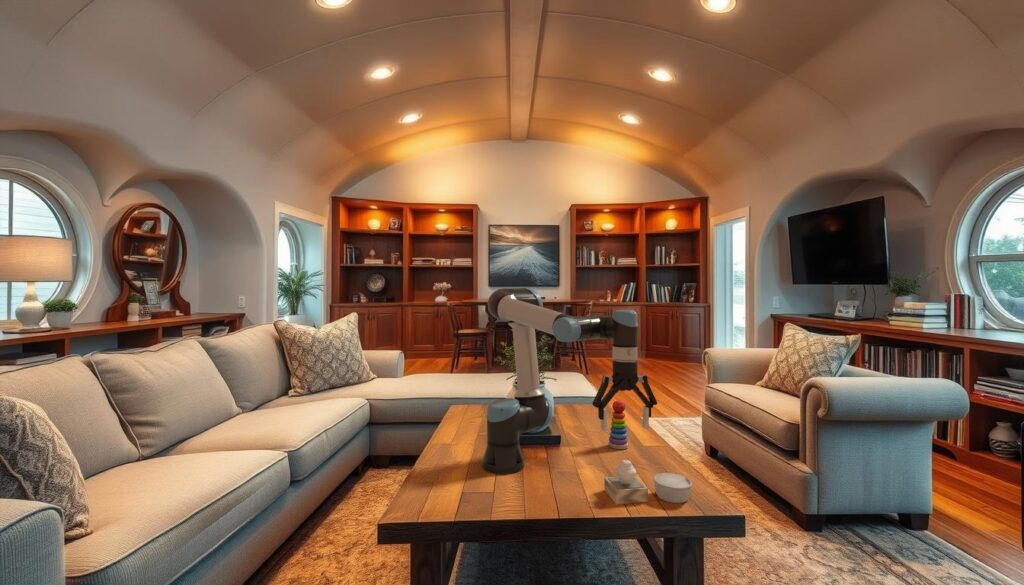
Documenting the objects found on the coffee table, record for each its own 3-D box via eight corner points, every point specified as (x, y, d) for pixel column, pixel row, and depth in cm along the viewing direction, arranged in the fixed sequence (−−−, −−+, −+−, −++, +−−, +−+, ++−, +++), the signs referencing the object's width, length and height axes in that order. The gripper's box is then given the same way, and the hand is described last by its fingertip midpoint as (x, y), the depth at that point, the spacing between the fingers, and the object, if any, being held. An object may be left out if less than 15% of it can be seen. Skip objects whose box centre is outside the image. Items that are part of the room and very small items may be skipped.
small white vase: (622, 476, 147) (622, 454, 147) (640, 482, 143) (639, 459, 143) (611, 482, 143) (611, 460, 143) (629, 488, 139) (629, 465, 139)
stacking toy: (630, 450, 184) (630, 403, 184) (610, 450, 184) (610, 403, 184) (626, 443, 192) (626, 398, 192) (606, 443, 192) (606, 398, 192)
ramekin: (695, 506, 136) (695, 488, 136) (656, 504, 138) (656, 486, 138) (687, 490, 147) (687, 473, 147) (651, 488, 149) (651, 471, 149)
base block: (616, 504, 138) (616, 490, 138) (604, 489, 148) (604, 476, 148) (648, 501, 139) (647, 487, 139) (634, 487, 149) (634, 474, 149)
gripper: (590, 363, 138) (590, 434, 138) (668, 361, 142) (668, 430, 142) (582, 359, 145) (582, 427, 145) (657, 357, 149) (657, 423, 149)
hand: (624, 428), depth 143 cm, fingers open, 13 cm apart
